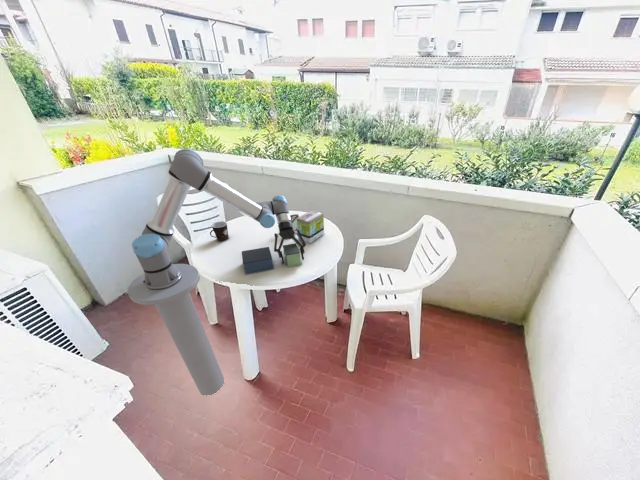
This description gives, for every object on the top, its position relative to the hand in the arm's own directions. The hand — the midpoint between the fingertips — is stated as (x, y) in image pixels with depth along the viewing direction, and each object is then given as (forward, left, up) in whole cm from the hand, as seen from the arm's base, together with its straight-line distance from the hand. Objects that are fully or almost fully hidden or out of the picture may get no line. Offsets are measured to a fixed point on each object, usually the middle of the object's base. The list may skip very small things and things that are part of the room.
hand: (293, 261), depth 153 cm
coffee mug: (-37, +43, -2) cm, 57 cm away
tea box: (+17, +27, -2) cm, 32 cm away
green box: (0, +3, -2) cm, 3 cm away
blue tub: (-18, +5, -2) cm, 19 cm away
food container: (+7, +39, -2) cm, 40 cm away
